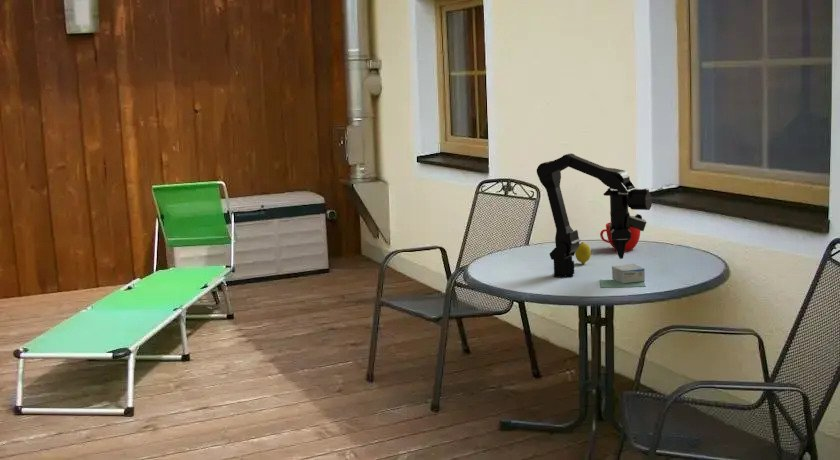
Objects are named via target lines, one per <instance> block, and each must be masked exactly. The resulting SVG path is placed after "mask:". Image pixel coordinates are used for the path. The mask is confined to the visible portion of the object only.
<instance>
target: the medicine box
mask: <svg viewBox="0 0 840 460" xmlns="http://www.w3.org/2000/svg"><path fill="white" fill-rule="evenodd" d="M645 270H646V269H645V267H642V266H640V265H637V264H635V263H630V264H621V265H613V266H611V274H612V275H611V277H612V279H611V280H616V281H618V282H620V283H622V284H624V283H633V282H642V281H644V282H645V281H646V280H645V274H646V273H645Z"/></svg>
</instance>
